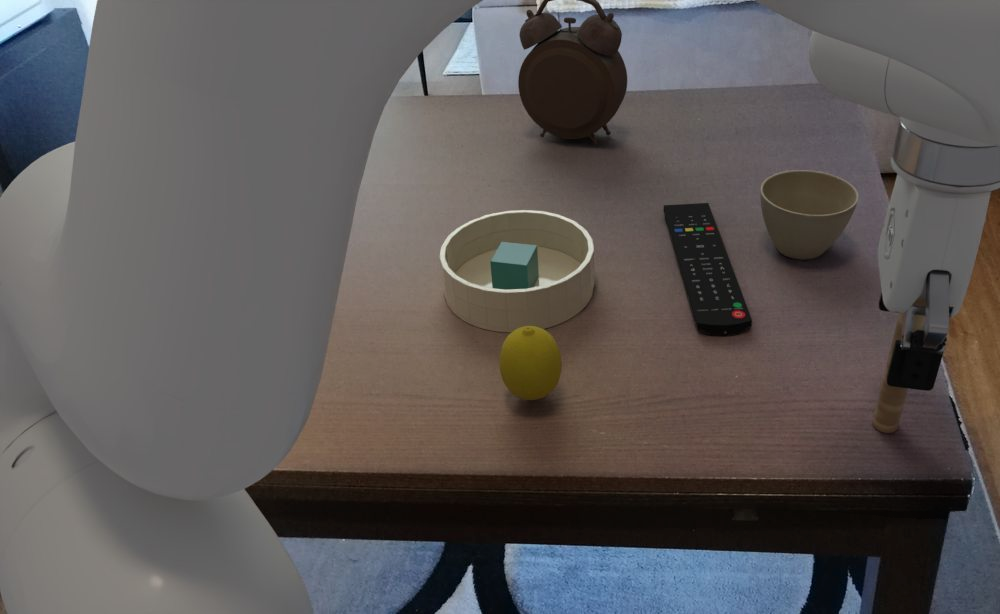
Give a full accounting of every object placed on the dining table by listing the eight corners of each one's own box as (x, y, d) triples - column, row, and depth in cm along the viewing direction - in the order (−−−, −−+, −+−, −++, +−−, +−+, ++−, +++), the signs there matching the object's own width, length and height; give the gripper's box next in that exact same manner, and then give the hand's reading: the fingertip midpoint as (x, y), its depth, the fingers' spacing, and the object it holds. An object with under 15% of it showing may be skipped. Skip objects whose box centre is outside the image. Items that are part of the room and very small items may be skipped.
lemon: (567, 380, 82) (565, 312, 77) (556, 421, 77) (553, 351, 73) (509, 375, 83) (504, 307, 78) (496, 414, 79) (489, 345, 74)
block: (528, 297, 92) (526, 265, 90) (492, 292, 93) (490, 261, 91) (538, 276, 95) (537, 245, 93) (503, 272, 96) (501, 241, 94)
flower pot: (756, 271, 94) (764, 213, 90) (751, 224, 102) (757, 168, 98) (854, 274, 92) (866, 215, 88) (840, 226, 100) (851, 170, 96)
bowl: (576, 341, 86) (575, 300, 84) (423, 323, 91) (417, 283, 88) (606, 254, 99) (606, 216, 96) (470, 241, 103) (466, 204, 100)
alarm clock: (631, 132, 124) (634, -11, 113) (614, 154, 119) (615, 6, 107) (537, 120, 130) (530, -18, 118) (517, 140, 125) (508, -2, 113)
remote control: (707, 212, 105) (708, 202, 104) (752, 334, 85) (753, 323, 85) (663, 215, 105) (663, 205, 104) (697, 337, 86) (698, 326, 85)
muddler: (898, 434, 73) (932, 309, 66) (872, 431, 74) (903, 307, 66) (896, 418, 75) (929, 294, 67) (871, 415, 75) (901, 292, 68)
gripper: (886, 96, 67) (849, 281, 77) (904, 206, 54) (857, 413, 64) (994, 101, 65) (942, 290, 75) (1042, 216, 52) (970, 427, 62)
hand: (903, 346), depth 69 cm, fingers open, 9 cm apart
